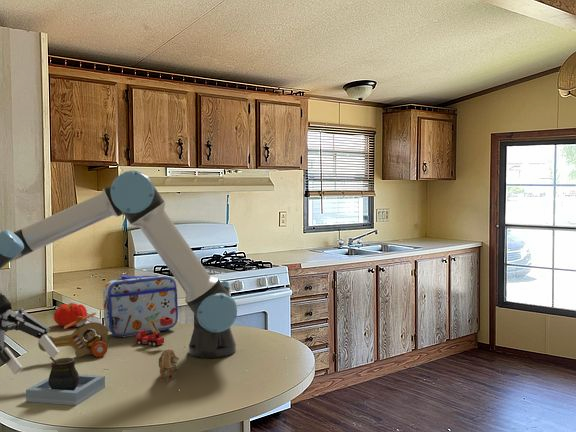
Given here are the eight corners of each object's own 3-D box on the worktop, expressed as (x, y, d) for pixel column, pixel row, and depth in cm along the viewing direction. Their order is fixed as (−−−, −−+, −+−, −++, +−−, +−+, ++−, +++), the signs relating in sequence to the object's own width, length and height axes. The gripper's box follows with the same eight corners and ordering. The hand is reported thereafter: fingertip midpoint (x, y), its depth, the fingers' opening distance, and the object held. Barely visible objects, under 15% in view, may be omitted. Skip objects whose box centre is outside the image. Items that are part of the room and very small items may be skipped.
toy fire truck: (140, 341, 194) (139, 314, 194) (173, 345, 189) (173, 316, 189) (134, 344, 191) (133, 316, 191) (167, 347, 186) (167, 319, 185)
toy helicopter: (111, 355, 178) (110, 312, 177) (40, 366, 167) (39, 321, 166) (105, 349, 184) (104, 308, 184) (37, 360, 174) (35, 316, 173)
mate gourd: (85, 387, 145) (84, 349, 144) (65, 398, 138) (64, 358, 137) (62, 385, 147) (61, 347, 147) (41, 395, 140) (40, 356, 139)
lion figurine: (179, 383, 150) (179, 350, 150) (159, 385, 149) (158, 352, 148) (176, 367, 164) (175, 337, 164) (157, 369, 163) (157, 338, 162)
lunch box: (106, 341, 195) (104, 279, 194) (99, 335, 204) (97, 275, 203) (180, 330, 209) (179, 272, 209) (171, 324, 218) (169, 269, 217)
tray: (105, 387, 148) (104, 375, 148) (76, 405, 135) (76, 393, 135) (58, 383, 151) (58, 373, 151) (26, 401, 138) (25, 389, 138)
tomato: (49, 325, 219) (48, 304, 219) (80, 320, 228) (79, 300, 228) (61, 331, 210) (60, 309, 210) (93, 325, 219) (92, 304, 218)
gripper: (17, 303, 162) (62, 358, 158) (-58, 322, 138) (-8, 387, 134) (32, 285, 160) (77, 341, 156) (-42, 302, 136) (9, 367, 133)
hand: (38, 362), depth 145 cm, fingers open, 13 cm apart
